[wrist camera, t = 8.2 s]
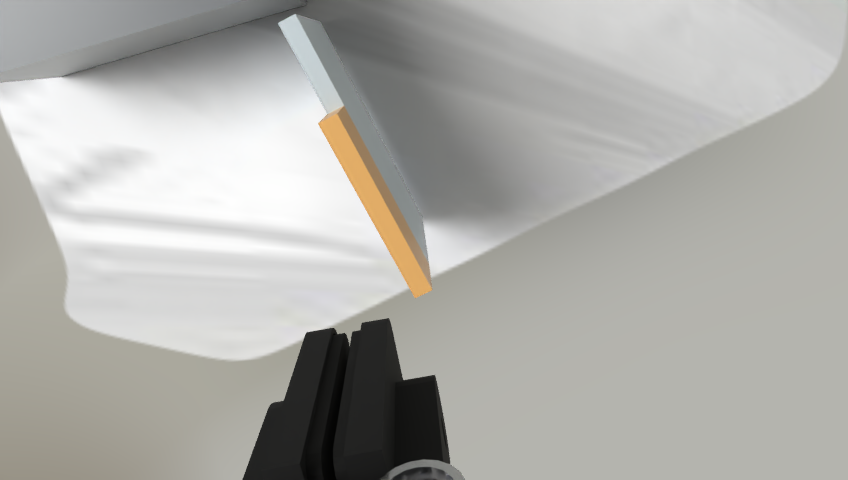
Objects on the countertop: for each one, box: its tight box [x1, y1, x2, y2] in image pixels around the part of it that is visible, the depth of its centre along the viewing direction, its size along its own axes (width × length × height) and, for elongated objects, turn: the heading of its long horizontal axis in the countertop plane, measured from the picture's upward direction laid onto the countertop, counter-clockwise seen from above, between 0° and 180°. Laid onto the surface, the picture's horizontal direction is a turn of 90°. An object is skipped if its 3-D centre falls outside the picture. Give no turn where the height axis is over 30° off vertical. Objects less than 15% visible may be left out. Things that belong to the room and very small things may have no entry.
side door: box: [278, 14, 432, 298], centre depth 27 cm, size 12×1×11 cm, turn 27°
